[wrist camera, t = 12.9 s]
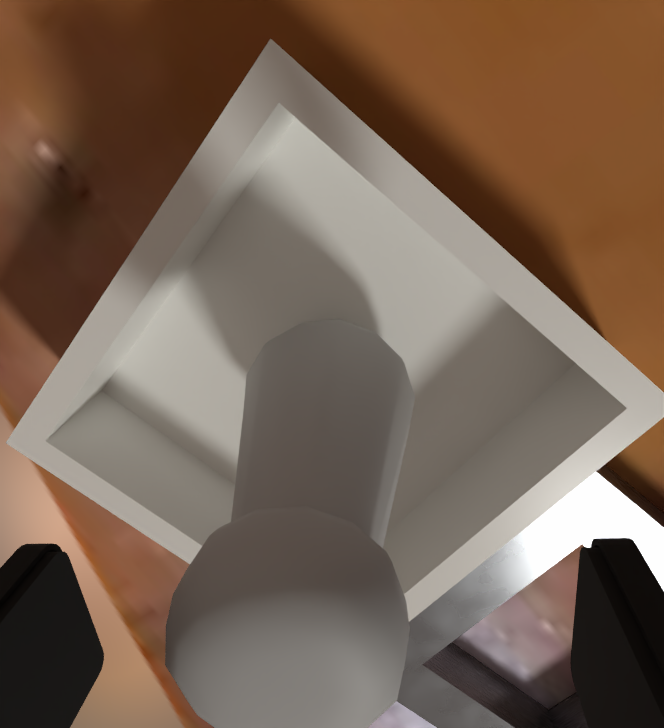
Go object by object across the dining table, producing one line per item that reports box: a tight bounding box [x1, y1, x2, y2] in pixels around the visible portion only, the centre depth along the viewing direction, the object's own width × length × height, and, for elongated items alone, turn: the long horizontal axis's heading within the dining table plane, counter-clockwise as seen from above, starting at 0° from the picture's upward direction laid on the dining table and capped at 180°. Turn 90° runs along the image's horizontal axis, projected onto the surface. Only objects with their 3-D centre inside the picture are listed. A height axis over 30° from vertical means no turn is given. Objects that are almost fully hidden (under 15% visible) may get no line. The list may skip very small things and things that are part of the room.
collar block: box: [397, 465, 664, 728], centre depth 24 cm, size 14×14×2 cm
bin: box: [6, 39, 664, 621], centre depth 19 cm, size 15×15×5 cm
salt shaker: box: [165, 319, 415, 728], centre depth 15 cm, size 6×6×13 cm
